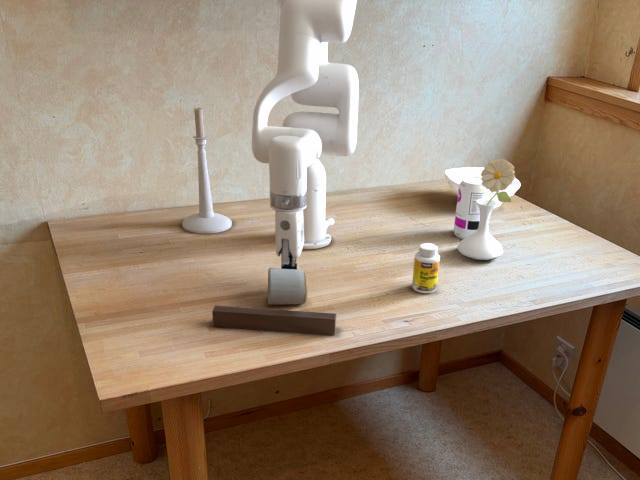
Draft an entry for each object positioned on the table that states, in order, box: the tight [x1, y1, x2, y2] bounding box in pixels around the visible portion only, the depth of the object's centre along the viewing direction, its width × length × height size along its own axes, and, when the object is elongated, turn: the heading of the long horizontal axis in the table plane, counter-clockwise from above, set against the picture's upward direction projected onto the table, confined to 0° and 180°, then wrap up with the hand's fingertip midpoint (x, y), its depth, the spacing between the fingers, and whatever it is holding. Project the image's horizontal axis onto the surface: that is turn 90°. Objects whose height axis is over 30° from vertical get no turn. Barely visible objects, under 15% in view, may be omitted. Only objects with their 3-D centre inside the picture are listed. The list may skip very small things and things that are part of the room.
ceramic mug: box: [267, 267, 309, 306], centre depth 145 cm, size 11×8×8 cm
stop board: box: [211, 304, 337, 336], centre depth 135 cm, size 2×24×4 cm, turn 87°
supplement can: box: [453, 177, 490, 240], centre depth 181 cm, size 8×8×15 cm
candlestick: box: [181, 106, 233, 235], centre depth 175 cm, size 13×13×30 cm
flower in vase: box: [457, 157, 516, 261], centre depth 166 cm, size 13×11×25 cm
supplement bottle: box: [411, 242, 441, 294], centre depth 152 cm, size 6×6×10 cm
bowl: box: [444, 166, 521, 209], centre depth 205 cm, size 21×21×9 cm
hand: (289, 280), depth 151 cm, fingers closed
